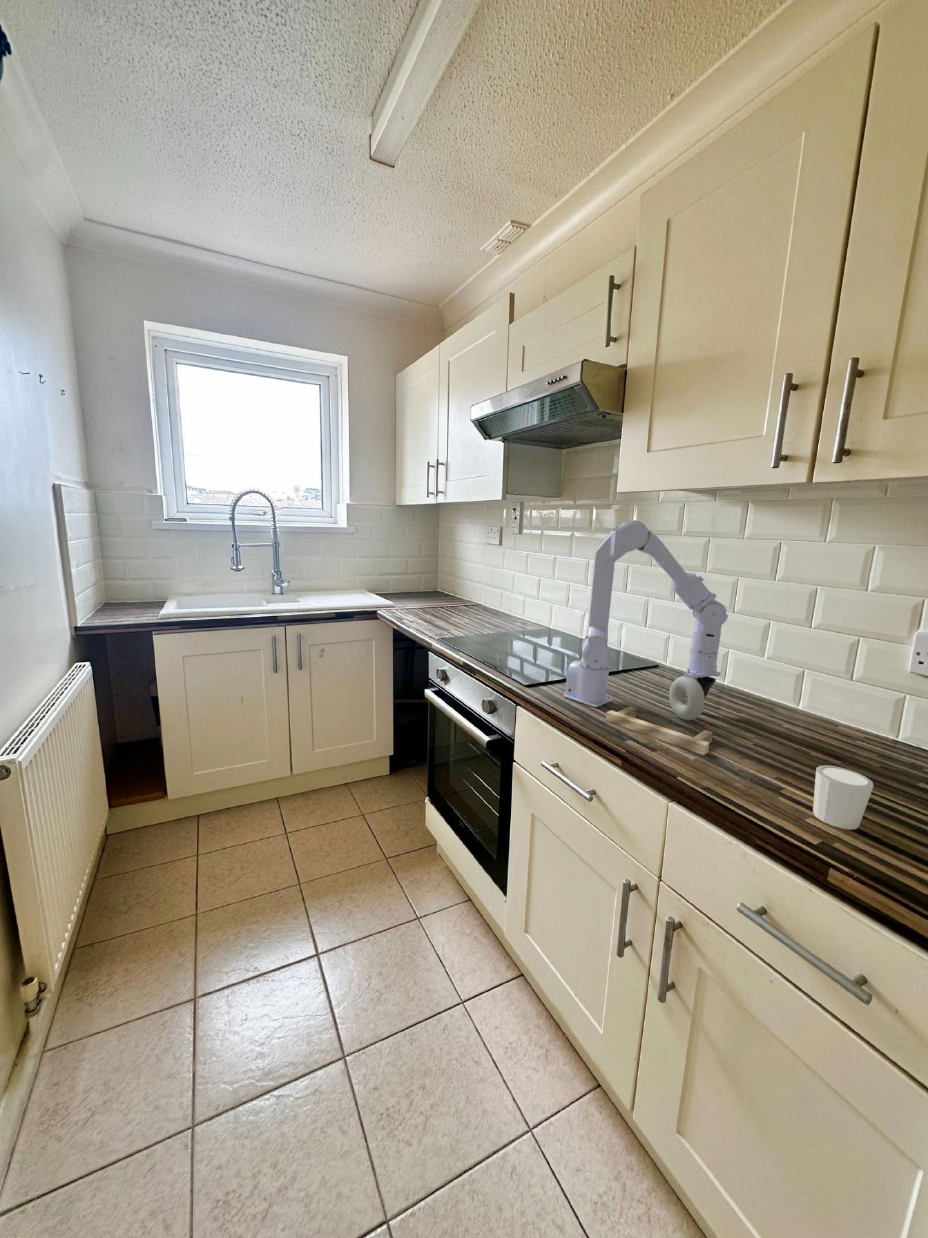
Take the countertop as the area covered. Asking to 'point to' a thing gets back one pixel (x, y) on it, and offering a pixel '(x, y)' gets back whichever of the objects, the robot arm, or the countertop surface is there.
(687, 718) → the white rubber ring
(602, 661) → the robot arm
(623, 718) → the drawer pull handle
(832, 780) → the white cylinder
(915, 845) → the countertop surface
